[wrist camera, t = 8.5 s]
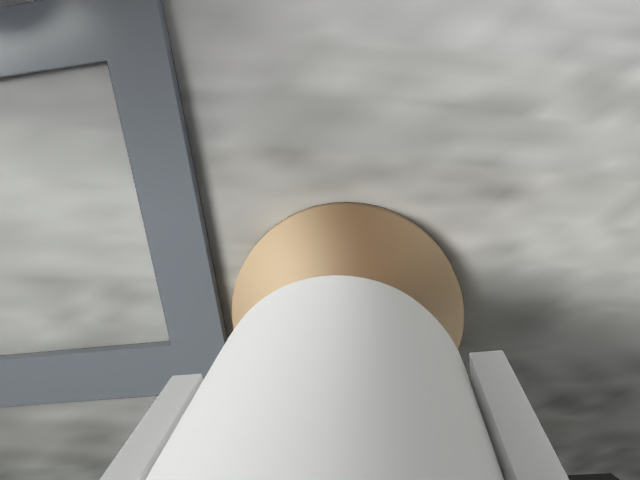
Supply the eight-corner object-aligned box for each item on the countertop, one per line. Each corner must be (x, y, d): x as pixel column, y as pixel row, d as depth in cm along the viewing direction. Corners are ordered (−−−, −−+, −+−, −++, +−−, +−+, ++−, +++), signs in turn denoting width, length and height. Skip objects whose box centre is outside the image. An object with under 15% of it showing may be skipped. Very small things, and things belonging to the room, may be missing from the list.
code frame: (-95, 409, 22) (-104, 415, 21) (-231, 50, 18) (-244, 49, 18) (236, 384, 20) (233, 389, 20) (158, -17, 16) (153, -20, 16)
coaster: (255, 417, 20) (252, 427, 20) (217, 215, 18) (212, 219, 18) (468, 403, 19) (471, 413, 19) (453, 188, 17) (455, 191, 17)
